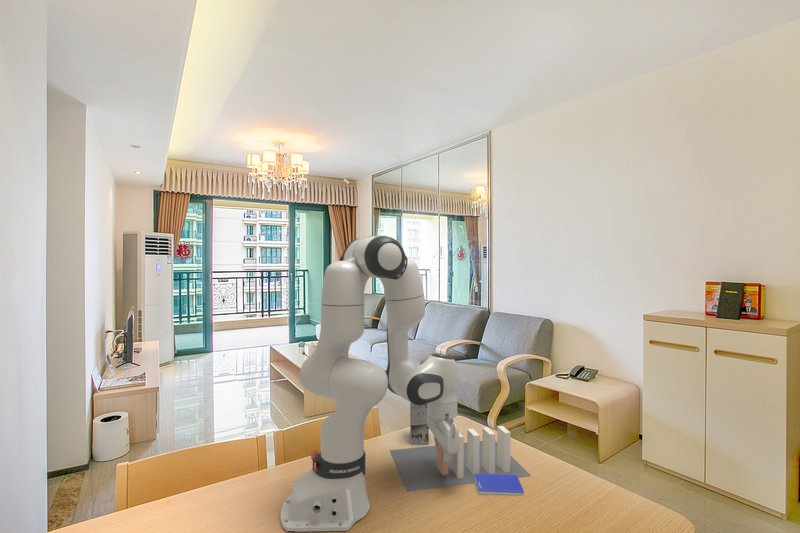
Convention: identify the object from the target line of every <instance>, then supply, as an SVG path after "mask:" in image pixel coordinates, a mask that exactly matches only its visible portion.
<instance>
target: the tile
mask: <svg viewBox="0 0 800 533" xmlns="http://www.w3.org/2000/svg"><path fill="white" fill-rule="evenodd" d="M442 453H443V447H442V446H441V445H440V443H439V442H438V440H437V467H438V469H439V470H440V472H441V474H442V475H444V474H448V461H444V460H443V459H442Z"/></svg>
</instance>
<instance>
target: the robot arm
mask: <svg viewBox="0 0 800 533" xmlns="http://www.w3.org/2000/svg"><path fill="white" fill-rule="evenodd" d="M371 278H379V281H380V282H381V284H382V287H383V291H384V302H385V309H386V311H385V312H386V342H387V343H386V344H387V347H386V348H387V364H386V365H387V366H386V370H385V369H384V368H383V367H382V366H380V365H378V364H376V363H373V362H370V361H368V360H365V359H359V358H353V357H349V353H350V352H349V351H350V347H351V346H352V344H353V343H355V342H357V341H358V340H359V339H361V337H362V336H363V334H364V332H365V288H366V285H367V282H368V281H369V279H371ZM320 303H321V304H320V305H321V308H320V309H321V310H320V316H321V317H320V329H319V330H320V332H319V338H318V341H317V343H316V346H315V348H314V350H313V352H312V353H311V354H310V355H309V356H307V358H306V359H305V360H304V361H303V363H302V364H301V367H300V369H299V381H300V385H301V387H303V389H305V390H307V391H308V392H310V393H311V394H313V395H316V396H318V397H321V398H325V399H329V400H333V401H335V403H336V406H335V407H336V408H335V411H334V413H332V414H330V415H329V416H327V417H326V418H325V419H324V421H323V422H322V423H321V427H320V452H319V451H318V450H315V449H314V450H312V451H311V452H310V459H311V460H312V468H311V469H310V470H308V471H307V472H306V473H305V474H303V475H302V476H300V477H299V478H298V479H297V480H296V481H295V483H294V484H293V487H292V488H291V492H290V495H289V496H288V497H287V498H286V499H285V500H284V501H283V503H282V505H281V509H280V515H279V516H280V518H279V521H280V525H281V527H282V529H283V528H284V529H285V532H288V531H295V532H304V533H305V532H347V531H349V530H351V528H352V527H353V526H354V524H355V523H357V522H358V521H360V520H362V519H363V518H365V516H366V515H367V514H368V513H369V511H370V507H371V502H370V500H369V495H368V492H367V485H366V484H367V483H366V478H365V475H366V469H367V457H366V451H365V445H364V444H365V427H366V426H365V425H366V422H367V418H368V415H369V413H370V412H371V410H372V409H373V408H374V407H375V406H377V405H379V403H380V402H381V401H382V400H383V399H384V398H385V396H386V394H387V391H388V390H389V391H390V393H392V394H395V395H397V396H400V397H401V398H403V399H404V400H406V401H407V402H409V403H410V402H411V403H413V404H415V405H425V407H426V419H427V425H428V428H429V430H430V432H431V434H432V435H433V439H434V444H435V445H434V446H435V448H436V450H437V440H438V442H439V443H440V445H441V446H442V447H443V453H442V459H443V460H444V461H449V456H450V454H457V453H459V450H460V443H459V432H460V430H459V427H458V425H457V424H456V423H455V421H454V419H455V418H457V416H458V395H457V388H458V369H457V367H458V366H457V363H456V360H455V359H454V358H453V357H451V356H450V355H446V354H443V353H438V352H437V353H436V352H435V353H431V354H430V355H429V357H428V358H427V359H426V360H425V361H424V362H423V363H421V364H420V365H418V366H415V365H414V364H413V363H412V361H411V359H410V357H409V340H408V336H409V332H410V330H411V329H412V328H414V327H416V326H417V325H419V324H420V322H422V320H423V319H424V317H425V314H426V299H425V293H424V286H423V282H422V277H421V273H420V269H419V267H418V265H417V263H416V262H415V260H414V259H412V258H409V257H407V255H406V253H405V250H404V248H403V246H402V244H400V242H399V241H398V240H397V239H395V238H394V237H391V236H387V235H379V236H376V235H367V236H363V237H357V238H355V239H352V240H351V241H350V242H348V243H347V245H346V246H345V248H344V249H343V252H342V255H341V257H340V258H339V261H338V260H337V261H335V262H332V263H330V264H329V265H327V267H326V268H325V271H324V276H323V282H322V290H321V302H320ZM284 529H283V530H284Z"/></svg>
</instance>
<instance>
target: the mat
mask: <svg viewBox="0 0 800 533" xmlns="http://www.w3.org/2000/svg"><path fill="white" fill-rule="evenodd" d="M389 452H390V454H391V457H392V460H393V461H394V465H395V467H396V468H397V471H398V474H399V476H400V478H401V480H402V482H403V485H404V487H405V490H406V492H416V491H417V492H418V491H424V490H425V491H426V490H431V489H440V488H447V487H448V488H449V487H456V486H462V485H463V486H464V485H471V484H472V485H473V484H475V481H474V476H473V475H472V473H471V472H470V471H469V470H468V468H467V442H464V475H463V478H457V476H456V475H455V474H454V472H453V471H452V454H450V456H449V461H448V474H444V475H442V474H441V472H440V470H439V469H438V467H437V450H436V448H435V445H426V446H419V447H408V448H400V449H399V448H397V449H389ZM479 474H489V473H488V472H487V471H486V470H485V469H484V468H483V466H482V440H480V445H479ZM495 474H502V475H517V477H518V479H519V478H527V477H532V475H531V474H530V473H529V472H528V470H526V468H525V467H523V466H522V465H521V464H520V463H519V462H518V461H517V460H515V458H514V457H513V456H511V455H510V472H504V471H503V470H502V469H501V468H500V467H499V466H498V465H497V440H495Z"/></svg>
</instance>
